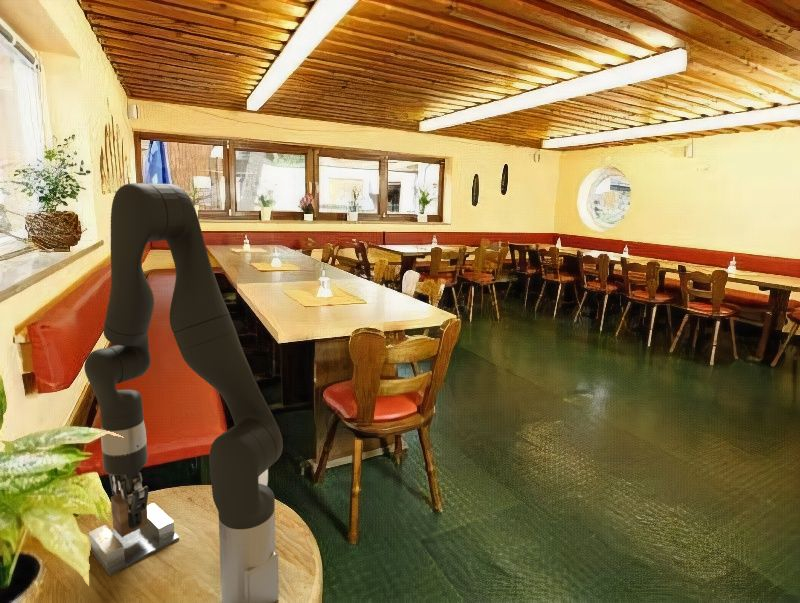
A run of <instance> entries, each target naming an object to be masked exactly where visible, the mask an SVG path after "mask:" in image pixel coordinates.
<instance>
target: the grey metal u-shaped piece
mask: <svg viewBox="0 0 800 603" xmlns="http://www.w3.org/2000/svg"><path fill="white" fill-rule="evenodd" d="M147 515H148V525H146V526H144V527H142V528H140V529H138V530H136V531H134V532H132V533H130V534H127V535H125V536H123V537H121V536H120V535H119V534H118V533H117V531H116V530H115V529H114V528H113V529H109V527H108V526H107V525H106V524H104V525H102V526H99V527H97V528H95V529H93V530H91V531H89V532H88V539H89V538H90V541H91V550H90V552H91V553H92V554H93V556H94V557H95V559H96V560H97V561H98V563H99V564H100V565H101V566H102V568H103V569H104V571H105V572H106V573H107V574H108V576H109V577H111V576H113V575H114V574H116V573H118V572H120V571H122V570H124V569H126V568H127V567H129V566H132V565H133V564H135V563H137V562H139V561H141V560H143V559H145V558H147V557H149V556H151V555H152V554H154V553H157V552H158V551H160V550H162V549H165V547H168V546H170V545H171V544H173V543H175V542H177V541H179V540H180V538H179V536H178V535H177V533H176V532H175V525H174V524H175V523H174V520H173V519H172V518H171V517H170V516H168V515H167V513H165V512H164V510H162V509H161V508H160V507H159V505H157V504H156V503H155V502H152V503H150V504H147Z"/></svg>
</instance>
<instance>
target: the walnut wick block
mask: <svg viewBox="0 0 800 603" xmlns="http://www.w3.org/2000/svg"><path fill="white" fill-rule="evenodd" d="M130 495H131V494H129V495H127V496H130ZM110 502H111V506H110V507H111V514H112V516H111V517H112V525H113V526H112V528H113V530H114V529H115V530H116V531H117V533H118V534H119V535H120V536H121V537H123V536H125V535H127V534H130V533H132V532H134V531H136V530H138V529H140V528H142V527H144V526H146V525H148V515H147V508H146V509H145V510H142V511H141V517H142V523H141V525H139V526H137V527H135V528H133V529H131V528H130V527H129V522H128V512H127V504H126V502H124V501H123V500H122V495H121V494H117V495H116V494H115V495H112V496H110ZM131 503H132V501H131Z"/></svg>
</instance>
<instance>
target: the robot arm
mask: <svg viewBox="0 0 800 603" xmlns="http://www.w3.org/2000/svg"><path fill="white" fill-rule="evenodd" d="M162 241H166V244H167V246H168V247H169V248H168V249H169V250H170V253H171V257H172V260H173V263H174V264H173V265H174V268H175V281H174V287H173V292H172V298H171V301H170V308H169V324H170V329H171V331H172V334H173V338H174V339H175V342H176V345H177V347H178V350H179V352H180V354H181V356H182V358H183V360H184V362H185V363H186V365H187V366H188V367H189V368H190V369H191V370H192V371H193V372H194V373H195V374H196V375H198V376H199V377H200V378H202V379H203V381H205V382H207V384H209V385H211V387H212V388H214V389H215V390H216V391H217V393H219V395H221V397H222V399H223V400H224V401H225V404H226V405H227V407H228V410H229V412H230V414H231V418H232V420H233V423H234V426H232V427H230V428H229V429H227V430H226V431H224V432H222V433H221V434H220V435H219V436H217V437H216V438H215V439H214V441H213V442H211V443H212V444H211V446H210V448H209V456H208V459H209V460H208V463H209V464H208V465H209V475H210V483H211V484H210V485H211V494H212V498H213V502H214V503H213V504H214V505H215V507H216V510H217V513H218V530H219V531H218V532H219V533H218V534H219V535H218V536H219V561H220V564H219V565H220V585H221V590H220V591H221V603H276V602H277V601H278V600H279V597H280V596H279V554H278V553H277V552H276V516H275V515H276V511H275V510H276V508H275V507H276V503H275V502H276V500H275V493H274V492H273V490H272V489H271V488H270V487H269V486H268V485H267V486H266V485H263V484H259V482H258V479H259V476H260V475H261V474H262V473H263V472H264V471H266V470H267V469H268V470H269V468H271V466H273V465H274V464H275V463H276V462H277V461H278V460H279V458H280V457H281V455H282V453H283V448H284V443H283V437H282V433H281V431H280V427H279V425H278V423H277V421H276V419H275V418H274V415H273V413H272V412H271V410H270V407H269V406H268V403H267V402H266V400H265V397H264V395H263V394H262V392H261V389H260V388H259V386H258V383H257V381H256V378H255V376H254V374H253V372H252V369H251V366H250V364H249V362H248V360H247V357H246V355H245V353H244V350H243V348H242V344H241V342H240V339H239V336H238V333H237V330H236V327H235V325H234V321H233V319H232V317H231V314H230V311H229V309H228V307H227V305H226V302H225V300H224V298H223V295H222V292H221V289H220V286H219V284H218V281H217V278H216V275H215V273H214V269H213V267H212V263H211V260H210V257H209V254H208V250H207V247H206V242H205V239H204V234H203V232H202V228H201V225H200V221H199V217H198V213H197V210H196V207H195V205H194V202H193V200H192V199H191V197H190V196H189V194H188V193H187V191H186V190H185V189H183V187H181V186H179V185H177V184H172V183H151V182H149V183H147V182H146V183H143V182H142V183H141V182H140V183H139V182H135V183H134V182H133V183H126V184H124V185H122V186H119V188H118V189H117V190H116V192H115V194H114V196H113V199H112V204H111V209H110V271H111V272H110V293H109V298H108V299H109V300H108V305H107V309H106V314H105V318H104V323H103V330H102V332H103V336H104V338H105V339H106V340H107V341H108V342H109V343H111V344H113V345H112V346H107V347H103V348H99V349H95V350H93V351H91V352H90V353H89V354H88V356H87V357H86V359H85V362H84V373H85V376H86V378H87V380H88V383H89V384H90V386H91V388H92V390H93V394H94V395H95V398H96V401H97V403H98V406H99V407H98V408H99V411H100V426H101V430H106V431H110V432H114V433H116V434H119V435H121V436H123V437H124V438H122V437H118V436H113V435H105V436H102V437H101V436H100V444H101V453H102V454H101V455H102V465H103V471H104V472H106V474H108V478H109V483H110V488H111V494H112V496H114V495H117V494H121V495H122V500H123V501H124V502H126V504H127V512H128V522H129V527H130V528H131V529H133V528H135V527H137V526H139V525H141V523H142V517H141V511H142V510H145V509H146V508H147V506H148V497H149V491H150V489H149V487H148V485H145V486H143V483H142V482H143V476H142V473H141V472H140V471H141V470H142V469H143V468H144V467H145V466H146V464H147V463H148V460H149V459H148V445H147V444H148V443H147V442H148V441H147V429H146V425H145V419H144V407H143V405H144V404H143V396H142V394H141V393H140V392H139V391H138V390H135V389H117V385H118V384H121V383H124V382H127V381H131V380H134V379H137V378H140V377H142V376H144V374H146V373H147V372H148V370H149V368H150V366H151V362H152V361H151V360H152V358H151V352H150V345H149V344H150V343H149V341H150V340H149V329H150V325H151V321H152V318H153V313H154V307H155V297H154V293H153V291H152V288H151V285H150V283H149V281H148V280H147V277H146V275H145V272H144V270H143V266H142V264H143V263H142V261H143V256H144V252H145V249H146V246H147V244H148V243H152V242H162ZM129 494H131V495H130V496H127V495H129ZM131 501H132V503H131Z"/></svg>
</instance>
